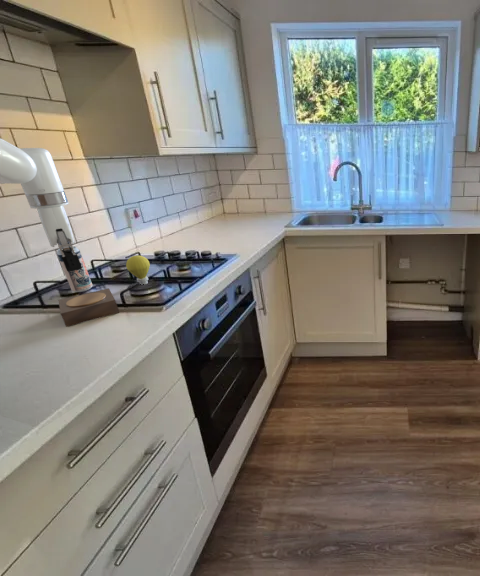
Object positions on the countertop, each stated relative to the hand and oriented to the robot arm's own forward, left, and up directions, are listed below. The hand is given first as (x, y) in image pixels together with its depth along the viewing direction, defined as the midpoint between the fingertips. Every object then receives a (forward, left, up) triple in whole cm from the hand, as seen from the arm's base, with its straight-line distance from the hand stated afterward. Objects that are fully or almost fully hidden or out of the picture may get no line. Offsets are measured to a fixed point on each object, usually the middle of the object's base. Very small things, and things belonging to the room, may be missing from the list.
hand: (73, 266), depth 99 cm
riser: (0, 0, -14) cm, 14 cm away
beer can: (0, 0, -7) cm, 7 cm away
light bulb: (+16, +15, -14) cm, 26 cm away
